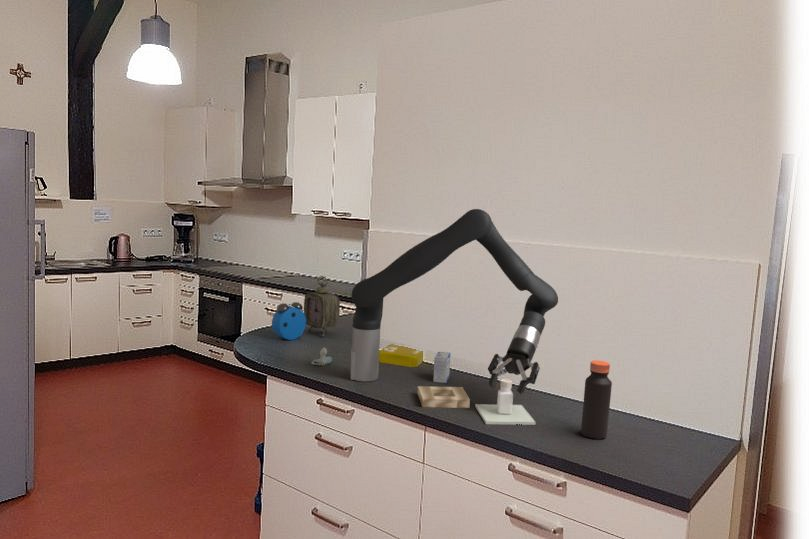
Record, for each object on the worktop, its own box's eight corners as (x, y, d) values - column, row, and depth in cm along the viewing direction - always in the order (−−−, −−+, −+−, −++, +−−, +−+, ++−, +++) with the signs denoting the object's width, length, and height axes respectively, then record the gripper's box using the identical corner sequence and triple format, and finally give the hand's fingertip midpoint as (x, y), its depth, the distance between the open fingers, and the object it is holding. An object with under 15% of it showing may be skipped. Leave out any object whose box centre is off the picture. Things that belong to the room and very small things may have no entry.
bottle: (592, 441, 168) (598, 367, 165) (575, 431, 174) (581, 360, 171) (612, 438, 170) (619, 365, 168) (595, 429, 176) (601, 358, 174)
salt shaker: (496, 409, 186) (498, 377, 185) (510, 410, 186) (512, 378, 185) (497, 414, 182) (500, 382, 181) (511, 415, 182) (514, 382, 181)
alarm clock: (298, 335, 268) (299, 300, 266) (306, 338, 264) (307, 302, 262) (270, 339, 259) (271, 302, 257) (279, 342, 255) (280, 305, 253)
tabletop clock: (303, 332, 275) (304, 274, 272) (320, 329, 281) (322, 273, 278) (322, 338, 264) (324, 279, 261) (340, 336, 270) (342, 277, 267)
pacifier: (307, 364, 226) (319, 367, 223) (307, 347, 226) (319, 350, 222) (322, 361, 232) (334, 364, 228) (322, 344, 231) (334, 346, 228)
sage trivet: (485, 424, 176) (486, 421, 176) (475, 406, 190) (475, 404, 190) (535, 424, 177) (535, 422, 177) (521, 407, 191) (521, 404, 191)
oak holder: (422, 407, 187) (422, 399, 187) (417, 394, 199) (418, 386, 199) (469, 407, 189) (469, 399, 188) (461, 394, 200) (462, 387, 200)
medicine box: (446, 383, 212) (447, 358, 210) (432, 382, 212) (434, 356, 211) (449, 377, 219) (450, 352, 218) (436, 375, 220) (437, 351, 219)
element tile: (415, 368, 229) (415, 355, 228) (376, 362, 234) (376, 350, 233) (427, 359, 243) (428, 346, 242) (391, 353, 248) (391, 341, 247)
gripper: (499, 332, 191) (478, 378, 183) (544, 340, 183) (524, 388, 175) (505, 346, 196) (486, 391, 188) (549, 355, 188) (531, 402, 180)
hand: (504, 390), depth 182 cm, fingers open, 8 cm apart
